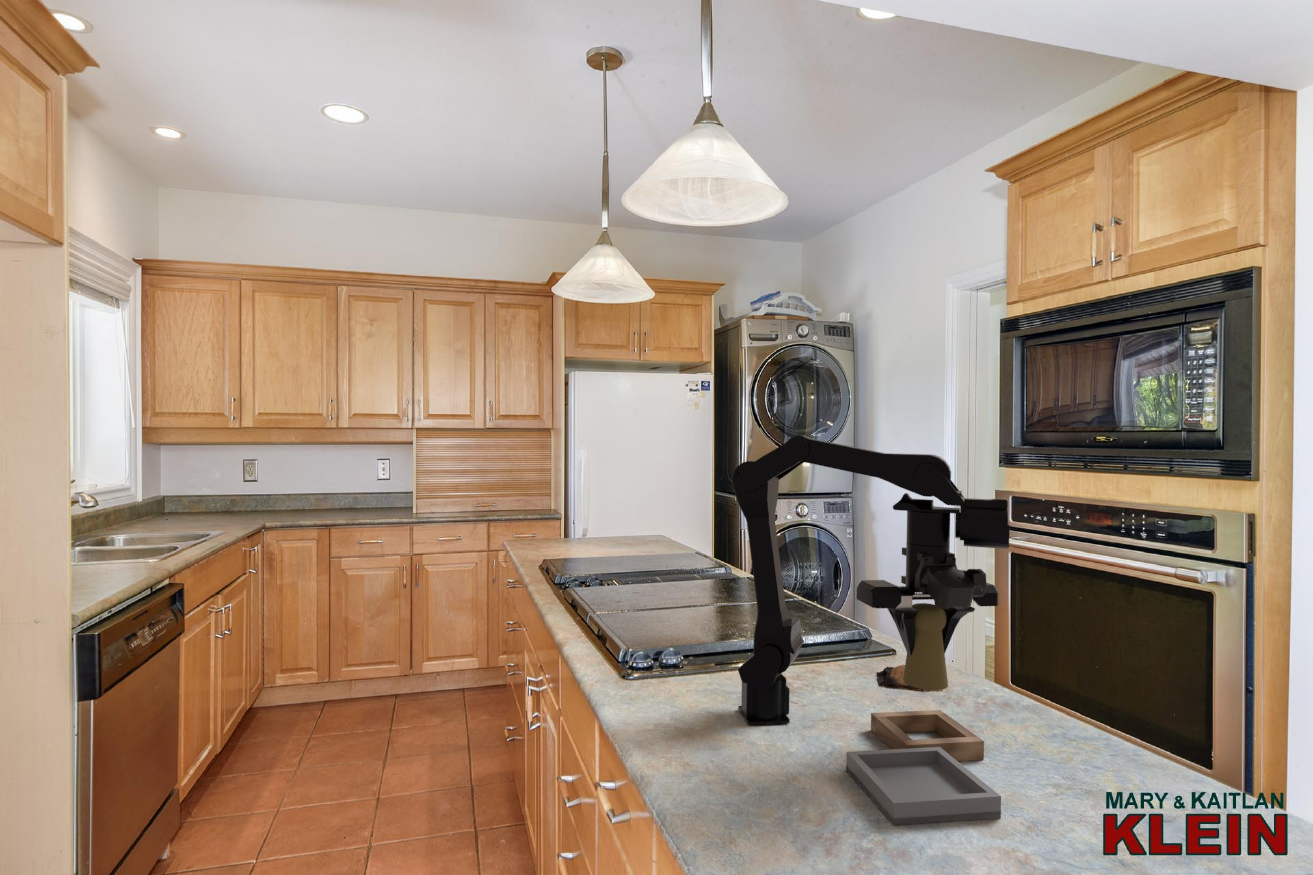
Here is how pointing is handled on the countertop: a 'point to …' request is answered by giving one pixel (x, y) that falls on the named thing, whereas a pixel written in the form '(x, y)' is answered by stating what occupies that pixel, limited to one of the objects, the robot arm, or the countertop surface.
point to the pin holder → (955, 735)
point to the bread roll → (895, 679)
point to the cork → (927, 650)
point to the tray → (922, 786)
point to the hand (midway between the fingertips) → (925, 653)
